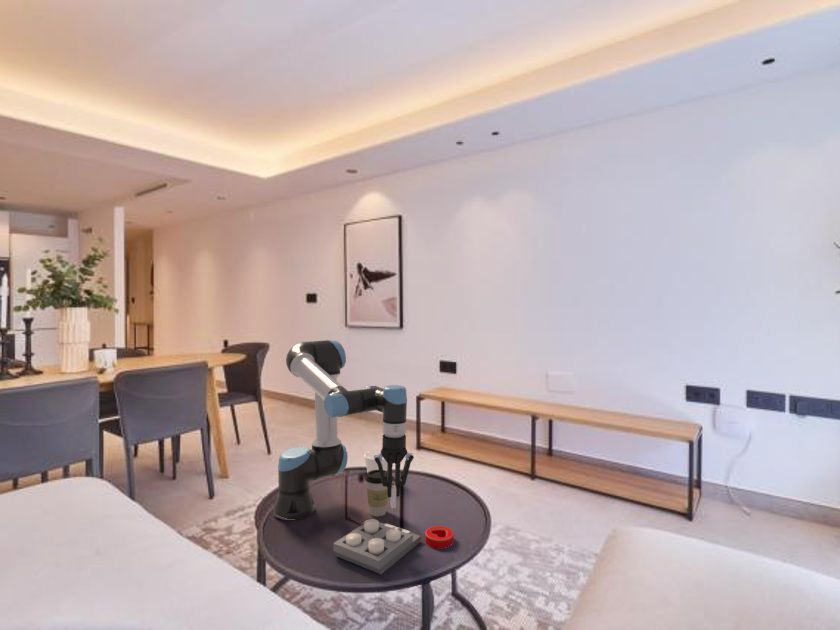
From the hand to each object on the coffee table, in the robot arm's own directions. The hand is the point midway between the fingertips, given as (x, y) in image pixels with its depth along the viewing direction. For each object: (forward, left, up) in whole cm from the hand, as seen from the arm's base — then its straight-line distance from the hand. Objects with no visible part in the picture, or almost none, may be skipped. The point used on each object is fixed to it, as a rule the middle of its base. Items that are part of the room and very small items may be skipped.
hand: (393, 506), depth 148 cm
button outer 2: (0, 0, -12) cm, 12 cm away
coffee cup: (-20, +18, -15) cm, 31 cm away
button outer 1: (0, -9, -11) cm, 14 cm away
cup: (-38, +41, -15) cm, 58 cm away
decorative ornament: (+10, +13, -15) cm, 22 cm away
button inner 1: (-9, -9, -12) cm, 17 cm away
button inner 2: (-9, 0, -11) cm, 14 cm away
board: (-4, -2, -15) cm, 15 cm away
